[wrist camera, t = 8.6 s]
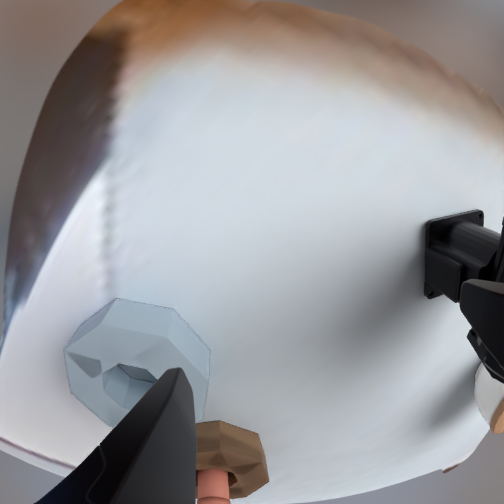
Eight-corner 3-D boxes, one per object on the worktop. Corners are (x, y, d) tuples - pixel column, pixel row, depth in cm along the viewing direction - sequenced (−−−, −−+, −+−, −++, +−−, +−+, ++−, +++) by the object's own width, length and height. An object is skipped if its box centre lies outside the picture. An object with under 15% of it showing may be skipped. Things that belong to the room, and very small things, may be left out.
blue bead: (147, 276, 20) (134, 300, 16) (232, 374, 23) (235, 405, 19) (61, 339, 20) (43, 365, 17) (142, 417, 24) (135, 446, 20)
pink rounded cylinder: (222, 442, 25) (226, 502, 19) (229, 457, 26) (234, 513, 20) (193, 446, 25) (192, 504, 19) (202, 460, 26) (203, 515, 20)
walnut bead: (251, 415, 24) (256, 444, 21) (269, 467, 28) (273, 492, 24) (146, 427, 24) (140, 456, 21) (182, 478, 27) (180, 502, 24)
